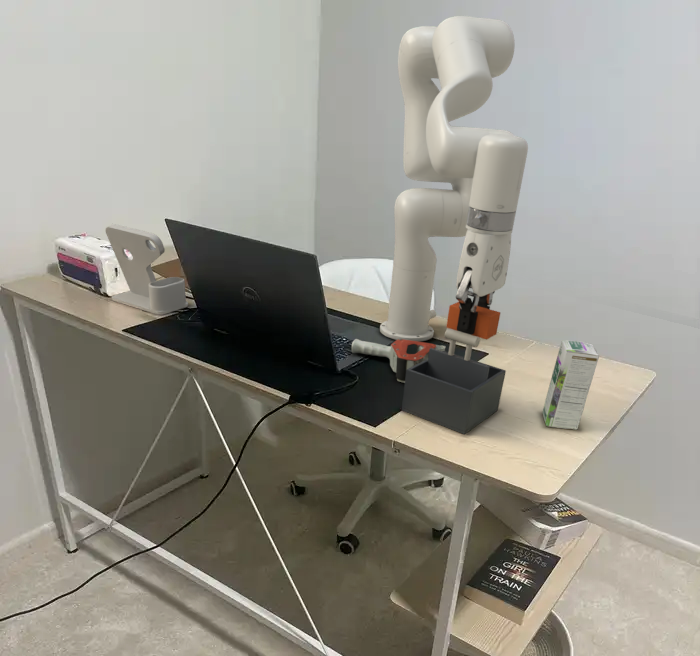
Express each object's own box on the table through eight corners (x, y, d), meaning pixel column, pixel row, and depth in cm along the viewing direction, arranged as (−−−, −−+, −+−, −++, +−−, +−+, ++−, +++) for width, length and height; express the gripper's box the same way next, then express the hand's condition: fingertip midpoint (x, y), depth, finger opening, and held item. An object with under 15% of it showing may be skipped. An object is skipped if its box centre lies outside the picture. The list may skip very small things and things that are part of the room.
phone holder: (191, 305, 161) (187, 229, 151) (161, 316, 153) (154, 235, 144) (140, 290, 168) (132, 216, 158) (108, 299, 160) (99, 222, 151)
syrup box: (541, 412, 123) (559, 338, 115) (573, 416, 123) (593, 342, 115) (545, 427, 118) (565, 350, 111) (579, 430, 118) (600, 354, 110)
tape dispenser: (347, 356, 144) (374, 389, 127) (347, 332, 141) (375, 363, 124) (422, 349, 148) (459, 381, 131) (424, 326, 146) (461, 355, 129)
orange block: (456, 322, 119) (460, 300, 117) (496, 334, 115) (500, 312, 113) (446, 327, 117) (449, 305, 115) (486, 339, 113) (490, 317, 111)
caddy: (437, 388, 129) (448, 315, 121) (497, 410, 123) (513, 333, 115) (401, 410, 120) (410, 331, 112) (464, 434, 114) (479, 353, 106)
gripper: (487, 231, 99) (467, 347, 108) (532, 218, 110) (511, 324, 120) (444, 222, 102) (428, 335, 112) (492, 210, 114) (474, 313, 124)
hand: (471, 328), depth 116 cm, fingers closed on orange block, 3 cm apart
